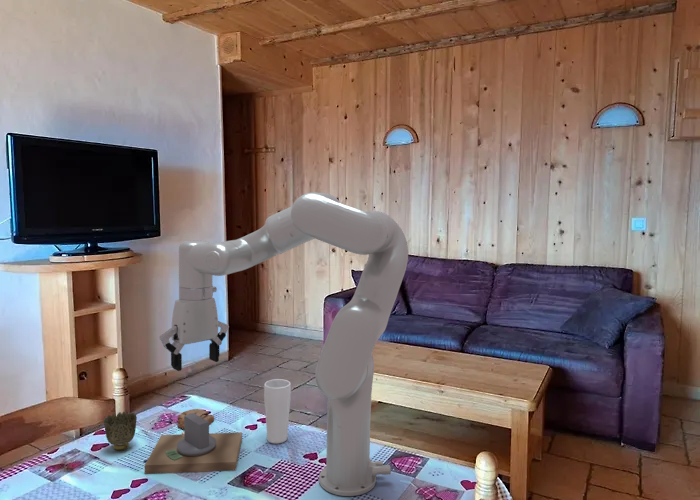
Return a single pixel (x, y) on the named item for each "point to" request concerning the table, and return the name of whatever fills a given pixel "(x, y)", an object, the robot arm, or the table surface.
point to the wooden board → (173, 462)
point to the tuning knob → (195, 437)
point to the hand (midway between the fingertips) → (196, 364)
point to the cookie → (198, 412)
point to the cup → (120, 429)
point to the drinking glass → (277, 409)
